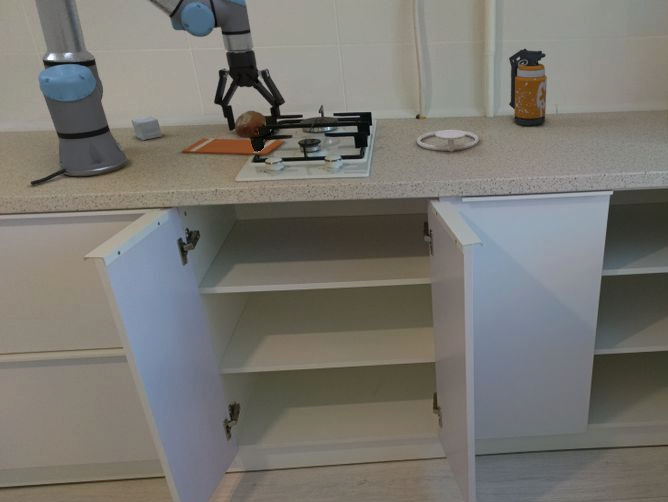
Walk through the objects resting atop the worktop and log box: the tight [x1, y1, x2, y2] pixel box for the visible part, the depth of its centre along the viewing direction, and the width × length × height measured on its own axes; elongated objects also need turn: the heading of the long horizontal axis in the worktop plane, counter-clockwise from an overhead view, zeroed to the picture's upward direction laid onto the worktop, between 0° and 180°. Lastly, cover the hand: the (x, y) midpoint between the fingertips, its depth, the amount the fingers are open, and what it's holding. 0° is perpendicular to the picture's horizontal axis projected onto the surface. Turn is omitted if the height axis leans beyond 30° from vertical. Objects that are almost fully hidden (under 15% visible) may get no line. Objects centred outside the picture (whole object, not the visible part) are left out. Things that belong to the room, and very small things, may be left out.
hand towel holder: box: [416, 129, 480, 153], centre depth 179 cm, size 17×4×20 cm
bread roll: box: [234, 110, 266, 139], centre depth 193 cm, size 10×10×8 cm
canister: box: [508, 48, 548, 127], centre depth 192 cm, size 9×11×20 cm
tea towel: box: [181, 137, 285, 156], centre depth 182 cm, size 12×24×1 cm, turn 81°
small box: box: [131, 116, 163, 141], centre depth 192 cm, size 6×6×5 cm
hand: (254, 130), depth 193 cm, fingers open, 13 cm apart
